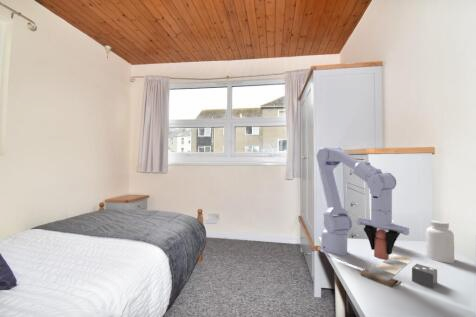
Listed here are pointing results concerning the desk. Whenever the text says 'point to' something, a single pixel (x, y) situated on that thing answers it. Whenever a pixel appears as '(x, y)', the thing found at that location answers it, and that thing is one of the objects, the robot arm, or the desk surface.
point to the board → (387, 270)
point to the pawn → (380, 245)
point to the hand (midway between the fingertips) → (381, 251)
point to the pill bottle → (440, 242)
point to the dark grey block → (424, 275)
